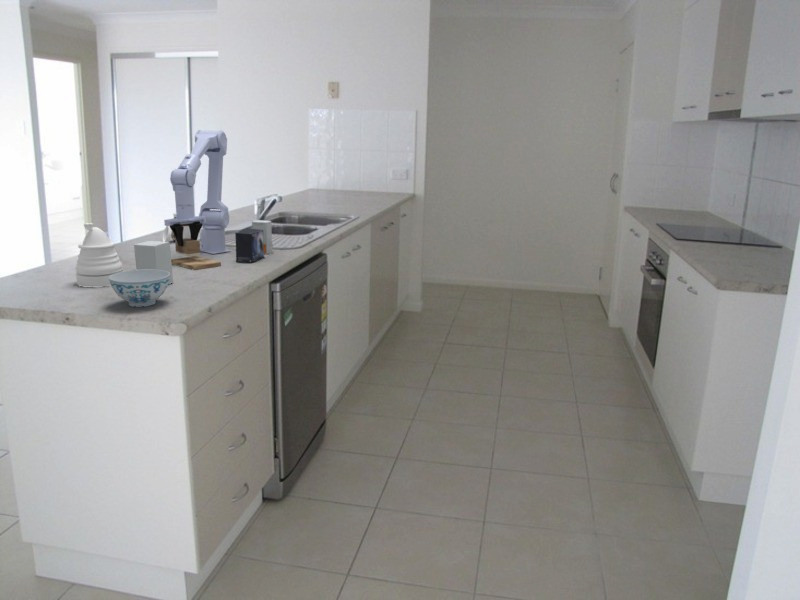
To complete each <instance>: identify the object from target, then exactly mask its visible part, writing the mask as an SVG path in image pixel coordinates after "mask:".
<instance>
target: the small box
mask: <svg viewBox="0 0 800 600" xmlns="http://www.w3.org/2000/svg"><path fill="white" fill-rule="evenodd" d="M234 234H235V236H234V237H235V262H236V263H244V264H245V263H246V264H253V263H255V262H257V260H258V261H260V260H262V259H264V258H265V254H264V245H263V230H259V229H252V228H246V229H242V230H239V231H236V232H235V233H234Z"/></svg>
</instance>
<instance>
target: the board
mask: <svg viewBox="0 0 800 600" xmlns="http://www.w3.org/2000/svg"><path fill="white" fill-rule="evenodd" d="M171 263H172V265H174V264H175V265H174V266H178V265H179V267H182V266H183V267H182V268H185V267H186V269H189V268H190V269H189V270H192V269H193V271H197V269H199V270H203V269H204V270H205V269H208V268H216V267H221V266H222V263H221V262H220V261H217V260H214V259H209V258H205V257H201V256H197V255H189V256H184V257H177V258H171Z"/></svg>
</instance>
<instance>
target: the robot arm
mask: <svg viewBox="0 0 800 600" xmlns="http://www.w3.org/2000/svg"><path fill="white" fill-rule="evenodd" d="M194 142H195V143H194V146H193V148H192V150H191V152H190V153H187V154H185V156H184V157H183V159H182V161H181V162H180V164H179V166H178V167H177V168H174V170H172V171H171V172H170V178H169V179H170V180H169V181H170V183H171V185H172V190H173V192H174V198H175V213H176V216H177V218H174V217H173V218H169V219H164V221H163V222H164V226H165V227H166V226H170V228H171V230H172V231H173V233H174V235H175V237H176V240H177V243H178V246H183V229H184V227H182V226H181V225H180V224H188V225H189V229H190V234H191V239H193V240H198V237H199V238H200V240H199V241H200V252H203V253H206V254H212V255H215V254H216V255H217V254H223V253H228V252H231V249H227V246H226V245H227V244H226V229H225V228H227V227H228V226H229V223H230V214H229V207H228V206H227V205H226V204H225V203H224V202H223V201H222V190H223V188H222V187H223V167H224V166H223V165H224V156H226V155H227V151H228V138H227V135H226V133H225V132H224V130H221V129H220V130H201V129H198V130H197V131H196V132H195V135H194ZM204 155H205V156H207V157H208V173H207V191H206V192H207V195H206V198H207V199H206V201H205V202H204V203H202V204H201V206H200V211H199V213H198V216H195V207H194V205H195V204H194V194H193V193H194V192H193V186H194V185H195V183H196V178H197V172H198V170H199V169H200V167H201V165H202V163H201V162H202V161H201V159H202V157H204ZM189 221H192V222H189ZM199 233H200V234H199Z"/></svg>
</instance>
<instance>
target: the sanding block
mask: <svg viewBox="0 0 800 600" xmlns="http://www.w3.org/2000/svg"><path fill="white" fill-rule="evenodd" d="M174 243H175V244H174V245H175V252H176V254H180V255H185V256H187V257H190V256H197V255H200V254H201V251H200V249H201V241H200V240H198V239H197V240H193V239H189V238H184V239H183V246H178V243H177V240H175V242H174Z"/></svg>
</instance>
